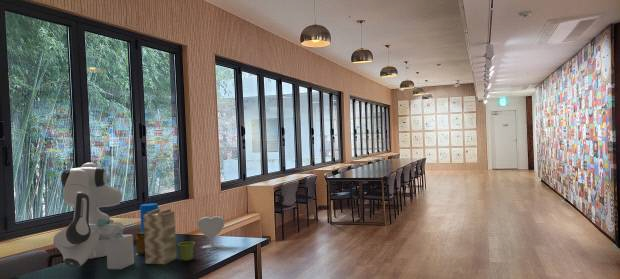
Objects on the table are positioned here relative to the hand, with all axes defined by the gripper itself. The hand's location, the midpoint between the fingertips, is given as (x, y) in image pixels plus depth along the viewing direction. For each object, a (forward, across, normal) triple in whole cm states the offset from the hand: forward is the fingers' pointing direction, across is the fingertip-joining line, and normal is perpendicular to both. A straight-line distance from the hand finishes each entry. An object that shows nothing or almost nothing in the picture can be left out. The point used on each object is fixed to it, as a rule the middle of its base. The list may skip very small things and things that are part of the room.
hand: (107, 220), depth 231 cm
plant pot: (+8, -30, +35) cm, 47 cm away
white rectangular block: (-5, 0, +27) cm, 27 cm away
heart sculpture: (+33, -31, +49) cm, 67 cm away
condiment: (+18, +4, +40) cm, 44 cm away
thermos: (+39, +15, +52) cm, 66 cm away
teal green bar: (0, +1, +6) cm, 6 cm away
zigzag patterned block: (+4, -17, +32) cm, 37 cm away
